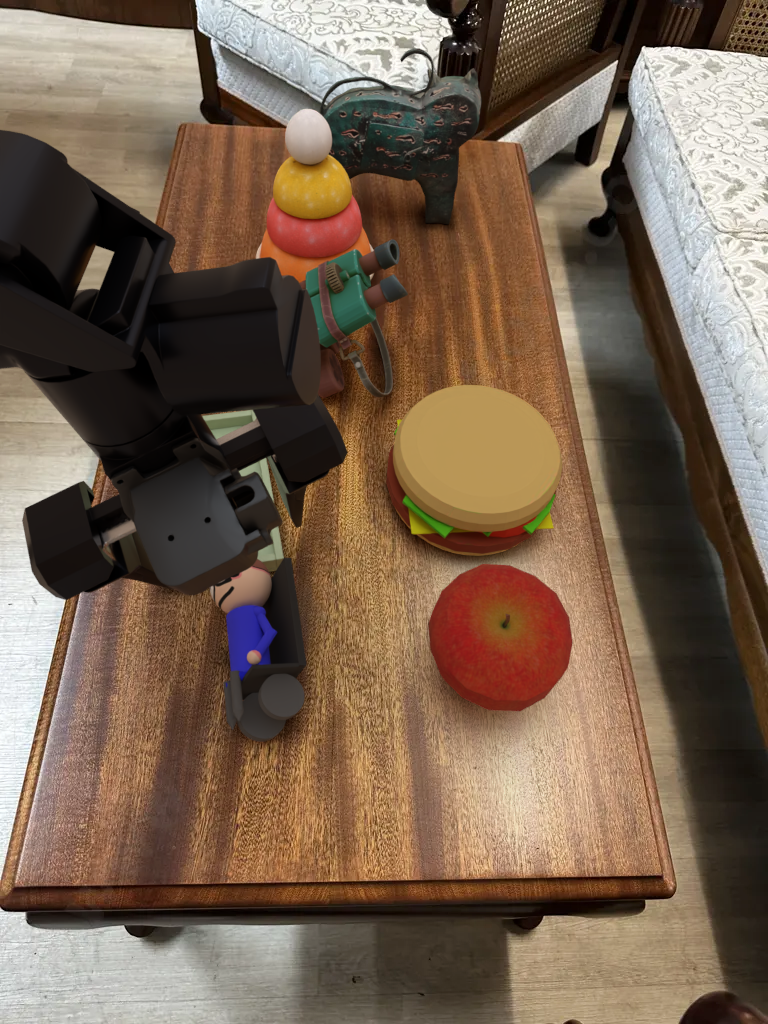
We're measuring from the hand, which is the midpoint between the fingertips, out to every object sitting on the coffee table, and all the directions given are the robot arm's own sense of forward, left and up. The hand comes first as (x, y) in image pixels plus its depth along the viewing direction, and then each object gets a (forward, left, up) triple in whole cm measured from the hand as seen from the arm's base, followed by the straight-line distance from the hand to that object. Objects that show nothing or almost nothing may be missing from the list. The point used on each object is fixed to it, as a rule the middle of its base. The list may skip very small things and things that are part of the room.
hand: (236, 552), depth 49 cm
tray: (-2, +15, -15) cm, 21 cm away
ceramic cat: (+24, +55, -15) cm, 62 cm away
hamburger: (+22, +11, -15) cm, 29 cm away
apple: (+18, -7, -15) cm, 25 cm away
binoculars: (+12, +29, -15) cm, 35 cm away
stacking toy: (+13, +45, -15) cm, 49 cm away
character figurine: (0, -2, -15) cm, 15 cm away
